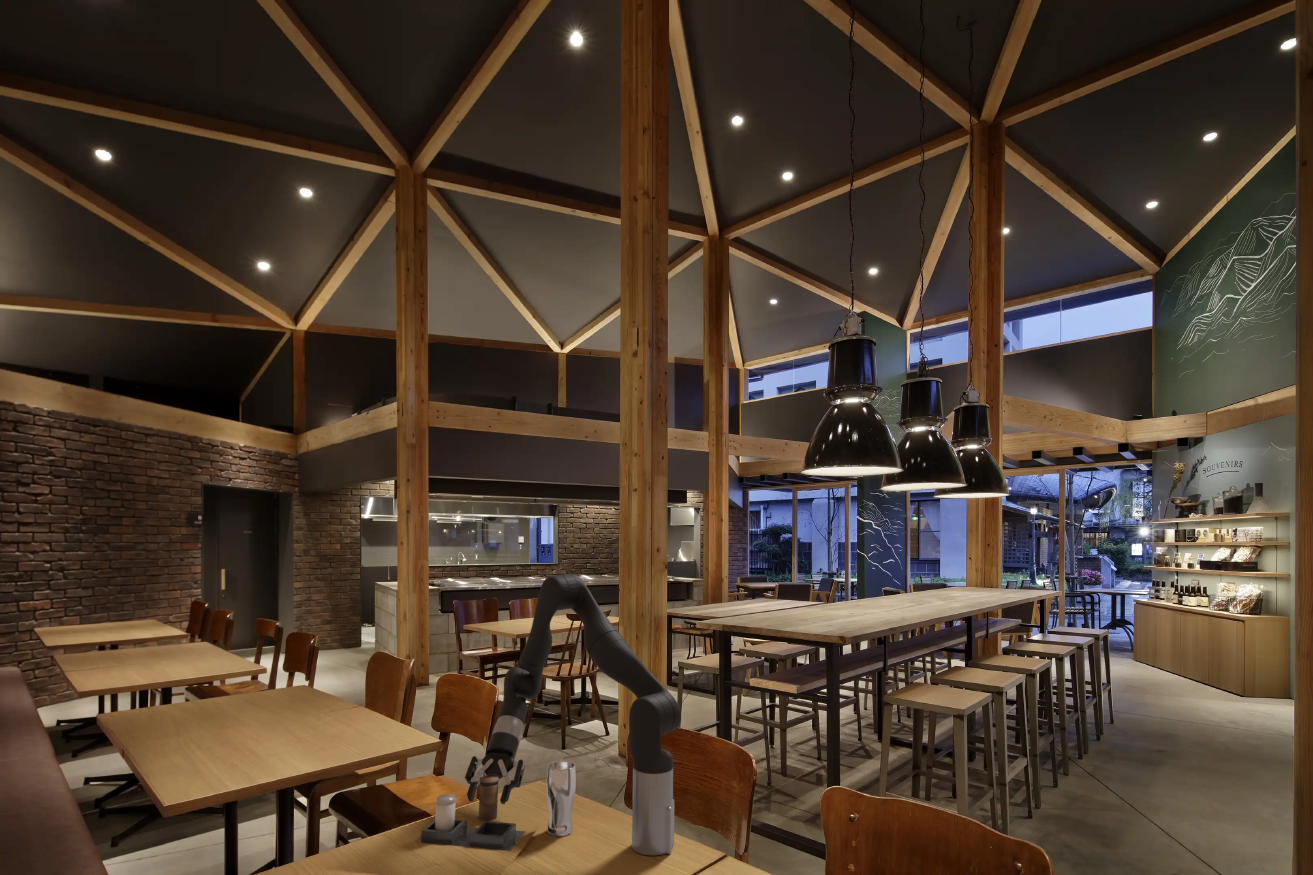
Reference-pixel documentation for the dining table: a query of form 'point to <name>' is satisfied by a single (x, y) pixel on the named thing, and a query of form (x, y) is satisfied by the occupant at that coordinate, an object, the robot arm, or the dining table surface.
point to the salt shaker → (445, 813)
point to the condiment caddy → (474, 835)
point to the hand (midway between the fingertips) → (486, 801)
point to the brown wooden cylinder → (488, 798)
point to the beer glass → (560, 797)
